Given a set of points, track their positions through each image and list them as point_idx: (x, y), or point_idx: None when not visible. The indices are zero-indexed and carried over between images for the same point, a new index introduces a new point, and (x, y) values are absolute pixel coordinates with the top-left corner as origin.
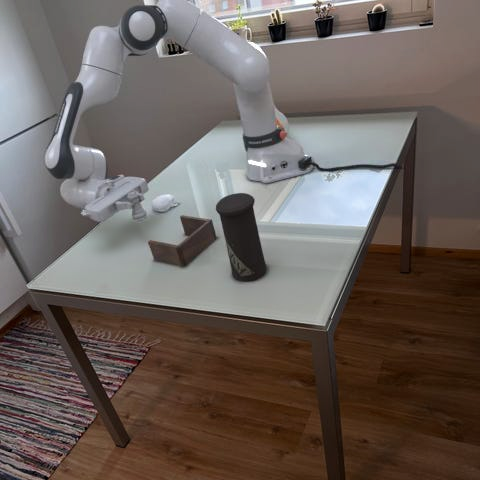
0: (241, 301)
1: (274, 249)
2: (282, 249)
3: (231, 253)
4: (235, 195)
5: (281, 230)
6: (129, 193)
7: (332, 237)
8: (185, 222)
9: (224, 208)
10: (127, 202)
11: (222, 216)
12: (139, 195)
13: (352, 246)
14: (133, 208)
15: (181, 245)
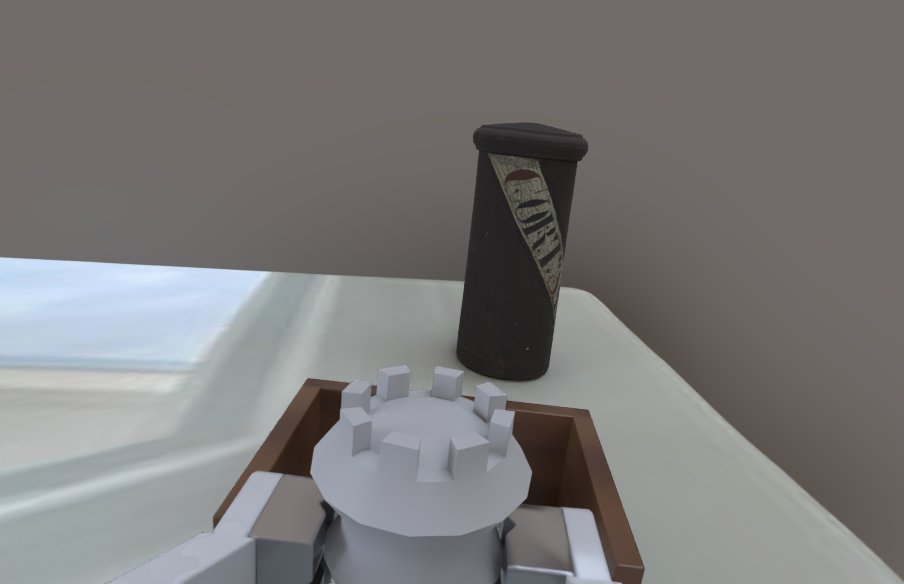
0: (613, 353)
1: (377, 344)
2: (375, 334)
3: (559, 284)
4: (507, 124)
5: (262, 346)
6: (424, 470)
7: (313, 292)
8: None
9: (580, 134)
10: (573, 545)
11: (576, 164)
12: (298, 486)
13: (350, 278)
14: None
15: (564, 408)
